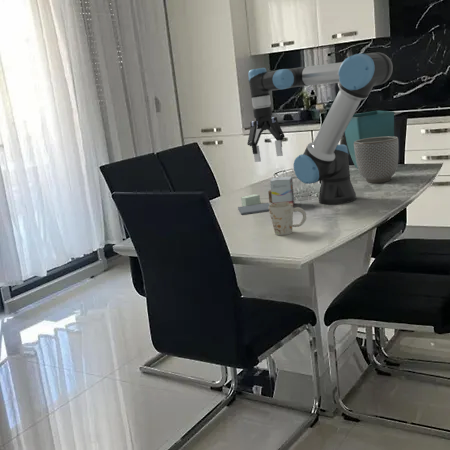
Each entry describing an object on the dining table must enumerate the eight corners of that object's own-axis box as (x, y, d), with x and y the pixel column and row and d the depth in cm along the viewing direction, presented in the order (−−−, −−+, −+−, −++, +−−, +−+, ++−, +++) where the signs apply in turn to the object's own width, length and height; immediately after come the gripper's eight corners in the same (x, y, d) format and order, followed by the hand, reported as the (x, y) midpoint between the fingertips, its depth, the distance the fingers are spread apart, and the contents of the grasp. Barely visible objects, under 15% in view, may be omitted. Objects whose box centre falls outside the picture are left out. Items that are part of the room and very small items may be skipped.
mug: (269, 232, 220) (266, 204, 218) (305, 227, 221) (302, 199, 219) (273, 237, 212) (270, 208, 210) (310, 232, 213) (307, 203, 211)
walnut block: (284, 199, 273) (283, 188, 272) (280, 202, 269) (279, 190, 268) (273, 200, 276) (272, 189, 275) (269, 202, 271) (268, 191, 270)
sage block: (260, 204, 271) (259, 195, 270) (246, 207, 268) (245, 198, 268) (255, 203, 275) (254, 194, 274) (241, 206, 272) (240, 197, 271)
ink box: (293, 207, 256) (290, 178, 253) (272, 209, 258) (269, 180, 255) (295, 202, 264) (292, 175, 261) (274, 204, 266) (271, 177, 263)
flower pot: (361, 174, 311) (356, 116, 305) (345, 169, 330) (341, 115, 324) (398, 168, 315) (394, 111, 308) (381, 164, 334) (377, 110, 327)
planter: (406, 176, 291) (403, 135, 287) (392, 184, 275) (389, 141, 271) (365, 177, 302) (362, 137, 297) (350, 185, 286) (346, 143, 281)
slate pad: (268, 204, 267) (267, 202, 267) (273, 210, 255) (272, 208, 254) (238, 208, 266) (237, 207, 266) (241, 214, 254) (241, 213, 254)
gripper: (275, 104, 267) (281, 153, 271) (234, 111, 251) (241, 164, 255) (288, 102, 262) (295, 153, 266) (247, 110, 245) (254, 163, 249)
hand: (269, 158), depth 260 cm, fingers open, 13 cm apart
